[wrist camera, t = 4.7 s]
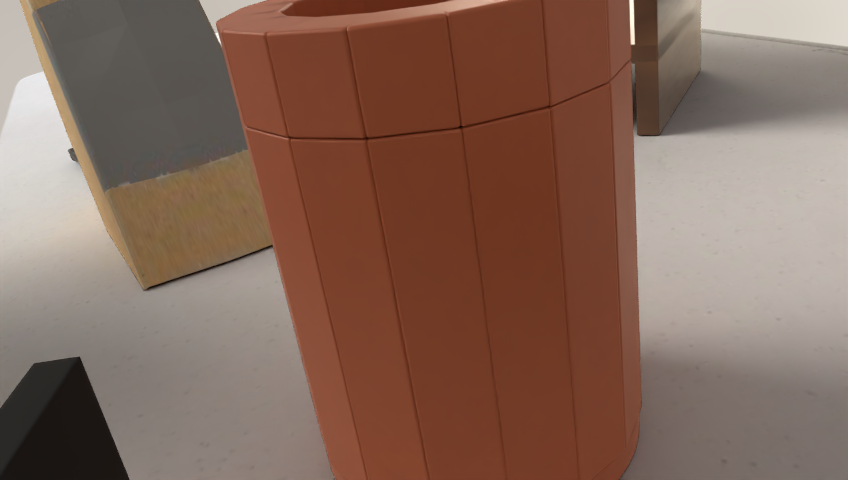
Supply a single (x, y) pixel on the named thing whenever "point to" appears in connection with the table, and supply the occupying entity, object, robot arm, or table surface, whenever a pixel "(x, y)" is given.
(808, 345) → the table surface
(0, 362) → the table surface
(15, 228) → the table surface
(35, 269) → the table surface
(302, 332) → the canister
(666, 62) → the shelf
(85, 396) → the robot arm
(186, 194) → the sandwich container
